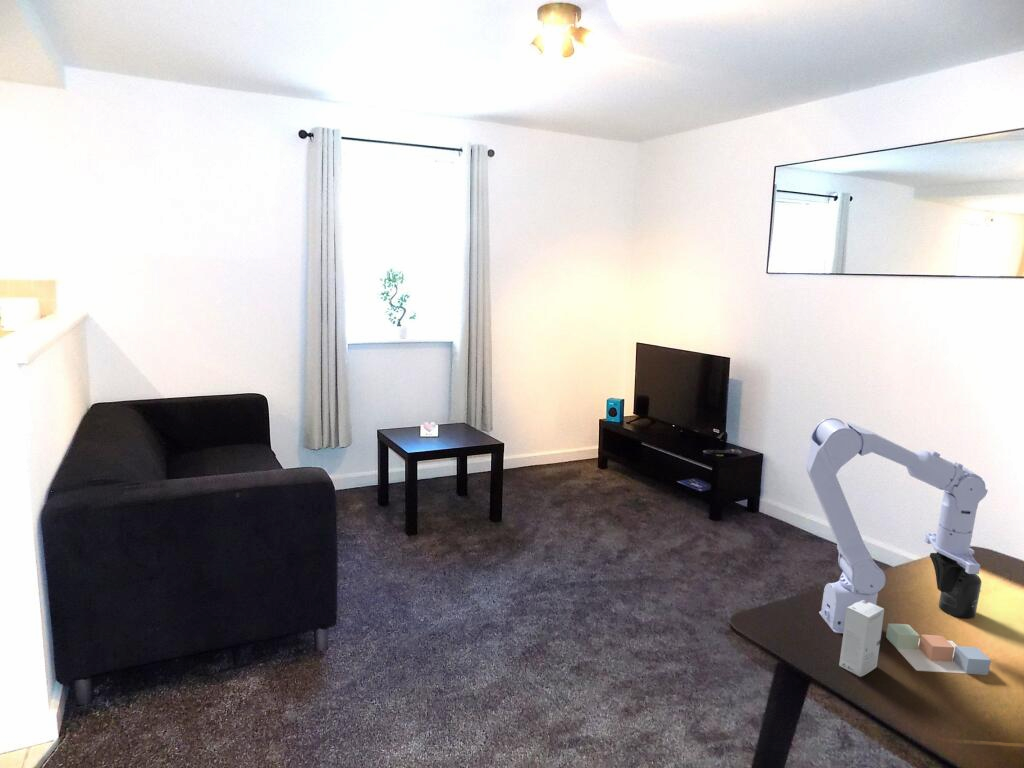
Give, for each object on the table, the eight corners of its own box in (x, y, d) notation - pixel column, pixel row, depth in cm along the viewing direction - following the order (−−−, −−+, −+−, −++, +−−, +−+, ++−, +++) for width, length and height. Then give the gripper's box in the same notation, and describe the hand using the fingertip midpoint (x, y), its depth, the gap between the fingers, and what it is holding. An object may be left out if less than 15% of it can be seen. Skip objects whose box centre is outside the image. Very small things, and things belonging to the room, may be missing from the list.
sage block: (896, 648, 129) (898, 634, 128) (886, 636, 133) (888, 623, 132) (917, 649, 129) (919, 635, 128) (906, 637, 133) (908, 624, 132)
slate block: (966, 673, 122) (968, 658, 121) (952, 660, 126) (955, 646, 125) (988, 674, 121) (991, 659, 121) (974, 661, 125) (976, 647, 125)
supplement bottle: (981, 622, 140) (991, 570, 138) (945, 618, 142) (955, 566, 139) (966, 606, 147) (975, 556, 145) (932, 602, 148) (941, 552, 146)
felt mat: (916, 672, 122) (916, 670, 122) (885, 638, 133) (886, 636, 133) (987, 676, 122) (988, 674, 121) (951, 642, 132) (951, 640, 132)
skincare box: (860, 679, 119) (870, 618, 117) (837, 666, 123) (845, 607, 121) (877, 668, 123) (887, 609, 121) (854, 656, 126) (862, 598, 124)
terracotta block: (930, 660, 125) (932, 646, 125) (918, 648, 129) (920, 634, 129) (951, 661, 125) (954, 647, 124) (939, 649, 129) (941, 635, 128)
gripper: (1001, 544, 123) (988, 610, 126) (953, 514, 137) (943, 574, 140) (962, 542, 123) (950, 608, 126) (919, 512, 138) (909, 572, 140)
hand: (944, 590), depth 133 cm, fingers closed
